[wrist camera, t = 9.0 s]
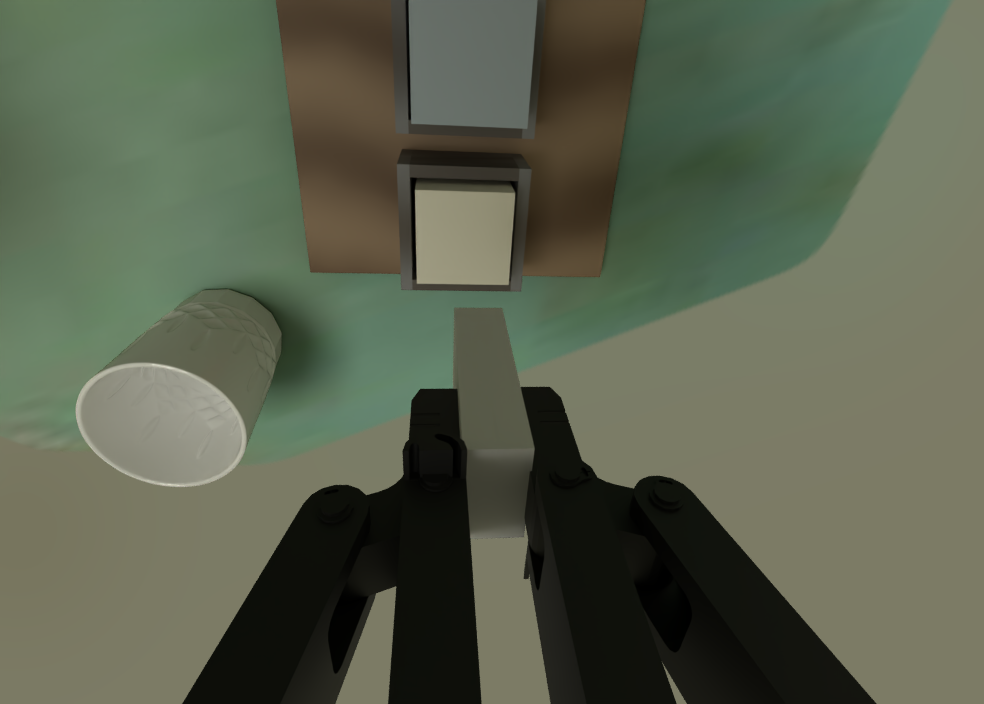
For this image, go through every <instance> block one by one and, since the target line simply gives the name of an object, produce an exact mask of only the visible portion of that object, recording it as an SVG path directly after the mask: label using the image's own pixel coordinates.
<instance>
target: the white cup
mask: <svg viewBox="0 0 984 704" xmlns="http://www.w3.org/2000/svg"><path fill="white" fill-rule="evenodd" d="M281 345H282V333H281V331H280V329H279V327H278V325H277V323H276V321H275V319H274V317H273V315H272V313H271V312H269V311H268V310H267V309H266V308H265V307H263V306H262V305H261V304H260V303H259V302H257V301H256V300H255V299H254V298H252V297H249V296H247V295H244V294H241V293H238V292H235V291H232V290H229V289H220V290H203V291H201V292H199V293H197V294H195V295H193V296H192V297H190V298H188V299H186V300H184V301H183V302H182V303H181V304H179V305H178V306H177V307H176V308H175V309H174V310H173V311H171V312H169V313H168V314H166V315H165V316H164V317H162V318H161V319H160V320H159V321H157V322H156V323H155V324H154V325H153V326H152V327H150V328H149V329H148V330H147V331H145V332H144V333H143V334H142V335H140V336H139V337H138V338H137V339H136V340H135V341H134V342H132V343H131V344H130V345H129V346H128V347H127V348H126V349H124V350H123V351H122V352H121V353H120V354H119V355H118V356H117V357H115V358H114V359H113V360H112V361H111V362H110V363H109V364H107V365H106V366H105V367H104V368H103V369H102V370H100V371H99V372H98V373H97V374H96V375H95V376H93V377H92V378H91V379H90V380H89V381H88V382H87V383H86V384H85V386H84V387H83V388H82V390H81V392H80V394H79V396H78V399H77V403H76V419H77V424H78V427H79V429H80V432H81V434H82V436H83V438H84V439H85V441H86V442H87V444H88V445H89V446H90V448H91V449H92V450H93V451H94V452H95V453H96V454H97V455H98V456H99V457H100V458H101V459H103V460H104V461H105V462H106V463H108V464H109V465H111V466H112V467H114V468H115V469H117V470H119V471H120V472H122V473H124V474H126V475H128V476H131V477H133V478H135V479H138V480H142V481H144V482H148V483H152V484H156V485H161V486H170V487H190V486H198V485H203V484H207V483H209V482H213V481H215V480H218V479H220V478H221V477H223V476H225V475H226V474H228V473H229V472H230V471H232V470H233V469H234V468H235V467H236V466H237V464H238V463H239V462H240V460H241V459H242V457H243V455H244V452H245V450H246V447H247V445H248V442H249V439H250V437H251V434H252V432H253V429H254V427H255V424H256V422H257V419H258V417H259V414H260V412H261V409H262V407H263V404H264V402H265V399H266V396H267V393H268V389H269V387H270V384H271V382H272V378H273V375H274V370H275V367H276V365H277V362H278V360H279V357H280V355H281Z"/></svg>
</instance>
